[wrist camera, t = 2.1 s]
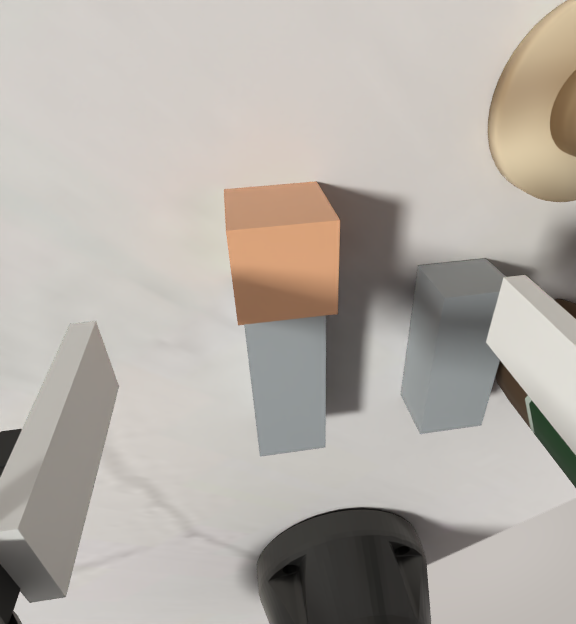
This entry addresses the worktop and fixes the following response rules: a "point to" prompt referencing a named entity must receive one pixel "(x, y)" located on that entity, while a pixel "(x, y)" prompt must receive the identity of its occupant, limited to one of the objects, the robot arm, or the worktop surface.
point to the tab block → (282, 252)
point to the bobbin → (539, 110)
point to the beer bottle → (540, 414)
